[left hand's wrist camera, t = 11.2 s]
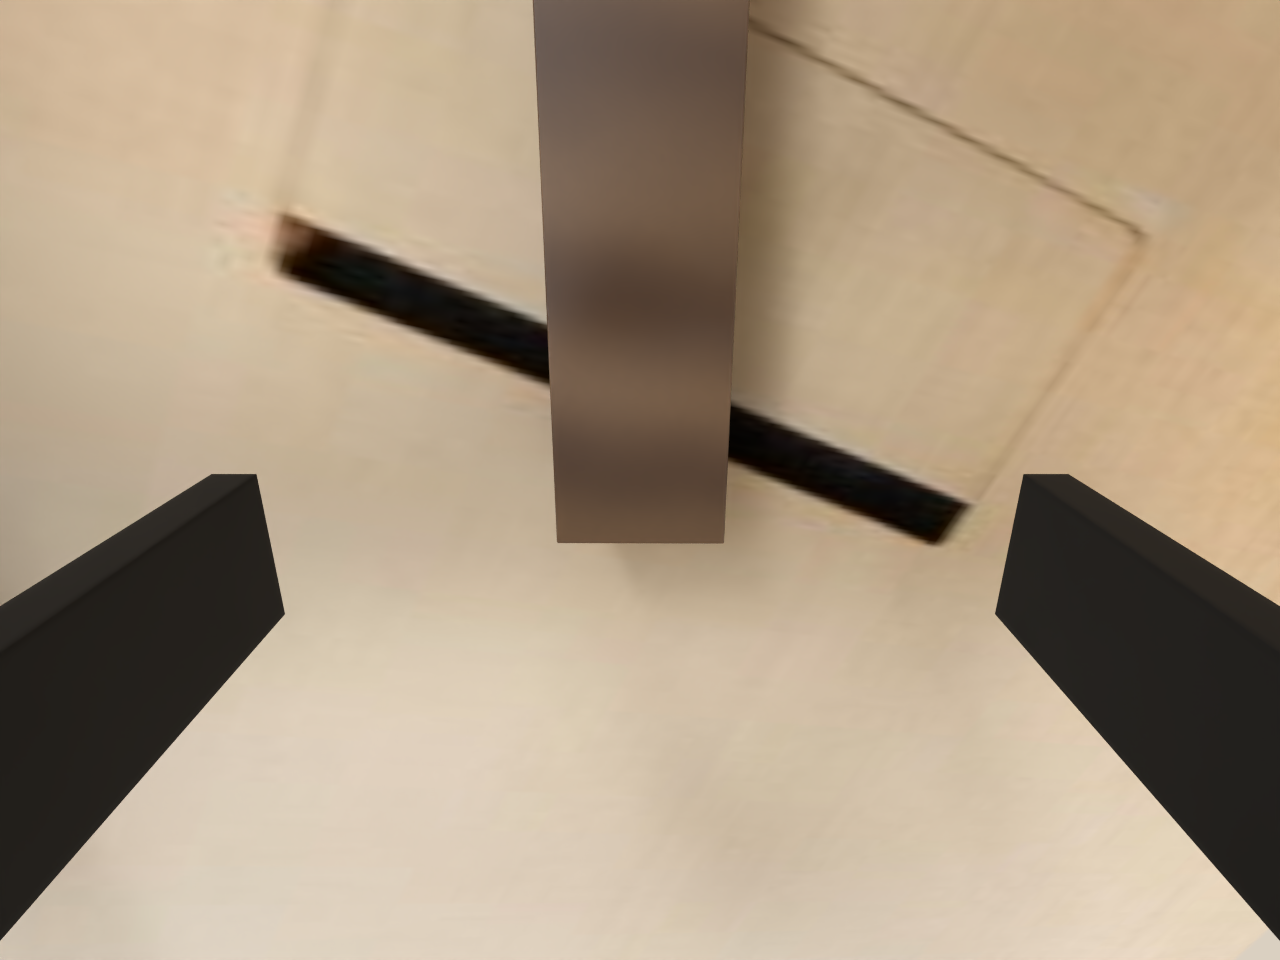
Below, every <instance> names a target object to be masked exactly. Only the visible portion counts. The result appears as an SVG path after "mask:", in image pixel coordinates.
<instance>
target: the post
mask: <svg viewBox="0 0 1280 960" xmlns="http://www.w3.org/2000/svg"><path fill="white" fill-rule="evenodd" d="M749 1H750V0H533V15H534V38H535V60H536V82H537V105H538V127H539V149H540V172H541V194H542V216H543V239H544V261H545V283H546V306H547V328H548V350H549V373H550V395H551V417H552V440H553V462H554V484H555V507H556V529H557V542H558V543H724V530H725V509H726V488H727V466H728V445H729V424H730V403H731V382H732V361H733V339H734V318H735V297H736V276H737V255H738V234H739V212H740V191H741V170H742V149H743V128H744V107H745V85H746V64H747V43H748V22H749Z"/></svg>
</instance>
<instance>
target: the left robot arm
mask: <svg viewBox="0 0 1280 960" xmlns="http://www.w3.org/2000/svg"><path fill="white" fill-rule="evenodd" d="M284 614H285V612H284V607H283V602H282V597H281V593H280V588H279V583H278V578H277V573H276V568H275V563H274V558H273V553H272V548H271V543H270V539H269V534H268V529H267V524H266V519H265V514H264V509H263V504H262V499H261V494H260V490H259V485H258V480H257V475H256V474H211V475H210V476H208V477H206V478H205V479H203V480H202V481H200V482H198V483H197V484H195V485H194V486H192V487H190V488H189V489H187V490H186V491H184V492H182V493H181V494H179V495H178V496H176V497H174V498H173V499H171V500H170V501H168V502H166V503H165V504H163V505H162V506H160V507H158V508H157V509H155V510H154V511H152V512H150V513H149V514H147V515H146V516H144V517H142V518H141V519H139V520H138V521H136V522H134V523H133V524H131V525H130V526H128V527H126V528H125V529H123V530H122V531H120V532H118V533H117V534H115V535H114V536H112V537H110V538H109V539H107V540H106V541H104V542H102V543H101V544H99V545H98V546H96V547H94V548H93V549H91V550H90V551H88V552H86V553H85V554H83V555H82V556H80V557H78V558H77V559H75V560H74V561H72V562H70V563H69V564H67V565H66V566H64V567H62V568H61V569H59V570H58V571H56V572H54V573H53V574H51V575H50V576H48V577H46V578H45V579H43V580H42V581H40V582H38V583H37V584H35V585H34V586H32V587H30V588H29V589H27V590H26V591H24V592H22V593H21V594H19V595H18V596H16V597H14V598H13V599H11V600H10V601H8V602H6V603H5V604H3V605H2V606H0V940H1V939H2V938H3V937H4V936H5V935H6V933H7V932H8V931H9V930H10V929H11V928H12V927H13V925H14V924H15V923H16V922H17V921H18V920H19V919H20V917H21V916H22V915H23V914H24V913H25V912H26V911H27V909H28V908H29V907H30V906H31V905H32V904H33V902H34V901H35V900H36V899H37V898H38V897H39V896H40V894H41V893H42V892H43V891H44V890H45V889H46V888H47V886H48V885H49V884H50V883H51V882H52V881H53V880H54V878H55V877H56V876H57V875H58V874H59V873H60V871H61V870H62V869H63V868H64V867H65V866H66V865H67V863H68V862H69V861H70V860H71V859H72V858H73V857H74V855H75V854H76V853H77V852H78V851H79V850H80V849H81V847H82V846H83V845H84V844H85V843H86V842H87V841H88V839H89V838H90V837H91V836H92V835H93V834H94V832H95V831H96V830H97V829H98V828H99V827H100V826H101V824H102V823H103V822H104V821H105V820H106V819H107V818H108V816H109V815H110V814H111V813H112V812H113V811H114V810H115V808H116V807H117V806H118V805H119V804H120V803H121V801H122V800H123V799H124V798H125V797H126V796H127V795H128V793H129V792H130V791H131V790H132V789H133V788H134V787H135V785H136V784H137V783H138V782H139V781H140V780H141V779H142V777H143V776H144V775H145V774H146V773H147V772H148V771H149V769H150V768H151V767H152V766H153V765H154V764H155V762H156V761H157V760H158V759H159V758H160V757H161V756H162V754H163V753H164V752H165V751H166V750H167V749H168V748H169V746H170V745H171V744H172V743H173V742H174V741H175V740H176V738H177V737H178V736H179V735H180V734H181V733H182V731H183V730H184V729H185V728H186V727H187V726H188V725H189V723H190V722H191V721H192V720H193V719H194V718H195V717H196V715H197V714H198V713H199V712H200V711H201V710H202V709H203V707H204V706H205V705H206V704H207V703H208V702H209V701H210V699H211V698H212V697H213V696H214V695H215V694H216V692H217V691H218V690H219V689H220V688H221V687H222V686H223V684H224V683H225V682H226V681H227V680H228V679H229V678H230V676H231V675H232V674H233V673H234V672H235V671H236V670H237V668H238V667H239V666H240V665H241V664H242V663H243V661H244V660H245V659H246V658H247V657H248V656H249V655H250V653H251V652H252V651H253V650H254V649H255V648H256V647H257V645H258V644H259V643H260V642H261V641H262V640H263V639H264V637H265V636H266V635H267V634H268V633H269V632H270V631H271V629H272V628H273V627H274V626H275V625H276V624H277V622H278V621H279V620H280V619H281V618H282V617H283V616H284ZM995 614H996V616H997V617H998V618H999V619H1000V620H1001V621H1002V622H1003V624H1004V625H1005V626H1006V627H1007V628H1008V629H1009V631H1010V632H1011V633H1012V634H1013V635H1014V636H1015V637H1016V639H1017V640H1018V641H1019V642H1020V643H1021V644H1022V645H1023V647H1024V648H1025V649H1026V650H1027V651H1028V652H1029V653H1030V655H1031V656H1032V657H1033V658H1034V659H1035V660H1036V661H1037V663H1038V664H1039V665H1040V666H1041V667H1042V668H1043V670H1044V671H1045V672H1046V673H1047V674H1048V675H1049V676H1050V678H1051V679H1052V680H1053V681H1054V682H1055V683H1056V684H1057V686H1058V687H1059V688H1060V689H1061V690H1062V691H1063V692H1064V694H1065V695H1066V696H1067V697H1068V698H1069V699H1070V701H1071V702H1072V703H1073V704H1074V705H1075V706H1076V707H1077V709H1078V710H1079V711H1080V712H1081V713H1082V714H1083V715H1084V717H1085V718H1086V719H1087V720H1088V721H1089V722H1090V723H1091V725H1092V726H1093V727H1094V728H1095V729H1096V730H1097V731H1098V733H1099V734H1100V735H1101V736H1102V737H1103V738H1104V740H1105V741H1106V742H1107V743H1108V744H1109V745H1110V746H1111V748H1112V749H1113V750H1114V751H1115V752H1116V753H1117V754H1118V756H1119V757H1120V758H1121V759H1122V760H1123V761H1124V762H1125V764H1126V765H1127V766H1128V767H1129V768H1130V769H1131V771H1132V772H1133V773H1134V774H1135V775H1136V776H1137V777H1138V779H1139V780H1140V781H1141V782H1142V783H1143V784H1144V785H1145V787H1146V788H1147V789H1148V790H1149V791H1150V792H1151V793H1152V795H1153V796H1154V797H1155V798H1156V799H1157V800H1158V801H1159V803H1160V804H1161V805H1162V806H1163V807H1164V808H1165V810H1166V811H1167V812H1168V813H1169V814H1170V815H1171V816H1172V818H1173V819H1174V820H1175V821H1176V822H1177V823H1178V824H1179V826H1180V827H1181V828H1182V829H1183V830H1184V831H1185V832H1186V834H1187V835H1188V836H1189V837H1190V838H1191V839H1192V841H1193V842H1194V843H1195V844H1196V845H1197V846H1198V847H1199V849H1200V850H1201V851H1202V852H1203V853H1204V854H1205V855H1206V857H1207V858H1208V859H1209V860H1210V861H1211V862H1212V863H1213V865H1214V866H1215V867H1216V868H1217V869H1218V870H1219V871H1220V873H1221V874H1222V875H1223V876H1224V877H1225V878H1226V880H1227V881H1228V882H1229V883H1230V884H1231V885H1232V886H1233V888H1234V889H1235V890H1236V891H1237V892H1238V893H1239V894H1240V896H1241V897H1242V898H1243V899H1244V900H1245V901H1246V902H1247V904H1248V905H1249V906H1250V907H1251V908H1252V909H1253V911H1254V912H1255V913H1256V914H1257V915H1258V916H1259V917H1260V919H1261V920H1262V921H1263V922H1264V923H1265V924H1266V925H1267V927H1268V928H1269V929H1270V930H1271V931H1272V932H1273V933H1274V935H1275V936H1276V937H1277V938H1278V939H1279V940H1280V606H1278V605H1277V604H1275V603H1274V602H1272V601H1270V600H1269V599H1267V598H1266V597H1264V596H1262V595H1261V594H1259V593H1258V592H1256V591H1254V590H1253V589H1251V588H1250V587H1248V586H1246V585H1245V584H1243V583H1242V582H1240V581H1238V580H1237V579H1235V578H1234V577H1232V576H1230V575H1229V574H1227V573H1226V572H1224V571H1222V570H1221V569H1219V568H1218V567H1216V566H1214V565H1213V564H1211V563H1210V562H1208V561H1206V560H1205V559H1203V558H1202V557H1200V556H1198V555H1197V554H1195V553H1194V552H1192V551H1190V550H1189V549H1187V548H1186V547H1184V546H1182V545H1181V544H1179V543H1178V542H1176V541H1174V540H1173V539H1171V538H1170V537H1168V536H1166V535H1165V534H1163V533H1162V532H1160V531H1158V530H1157V529H1155V528H1154V527H1152V526H1150V525H1149V524H1147V523H1146V522H1144V521H1142V520H1141V519H1139V518H1138V517H1136V516H1134V515H1133V514H1131V513H1130V512H1128V511H1126V510H1125V509H1123V508H1122V507H1120V506H1118V505H1117V504H1115V503H1114V502H1112V501H1110V500H1109V499H1107V498H1106V497H1104V496H1102V495H1101V494H1099V493H1098V492H1096V491H1094V490H1093V489H1091V488H1090V487H1088V486H1086V485H1085V484H1083V483H1082V482H1080V481H1078V480H1077V479H1075V478H1074V477H1072V476H1070V475H1069V474H1024V475H1023V480H1022V485H1021V490H1020V494H1019V499H1018V504H1017V509H1016V514H1015V519H1014V524H1013V529H1012V534H1011V539H1010V543H1009V548H1008V553H1007V558H1006V563H1005V568H1004V573H1003V578H1002V583H1001V588H1000V593H999V597H998V602H997V607H996V612H995Z"/></svg>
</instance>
